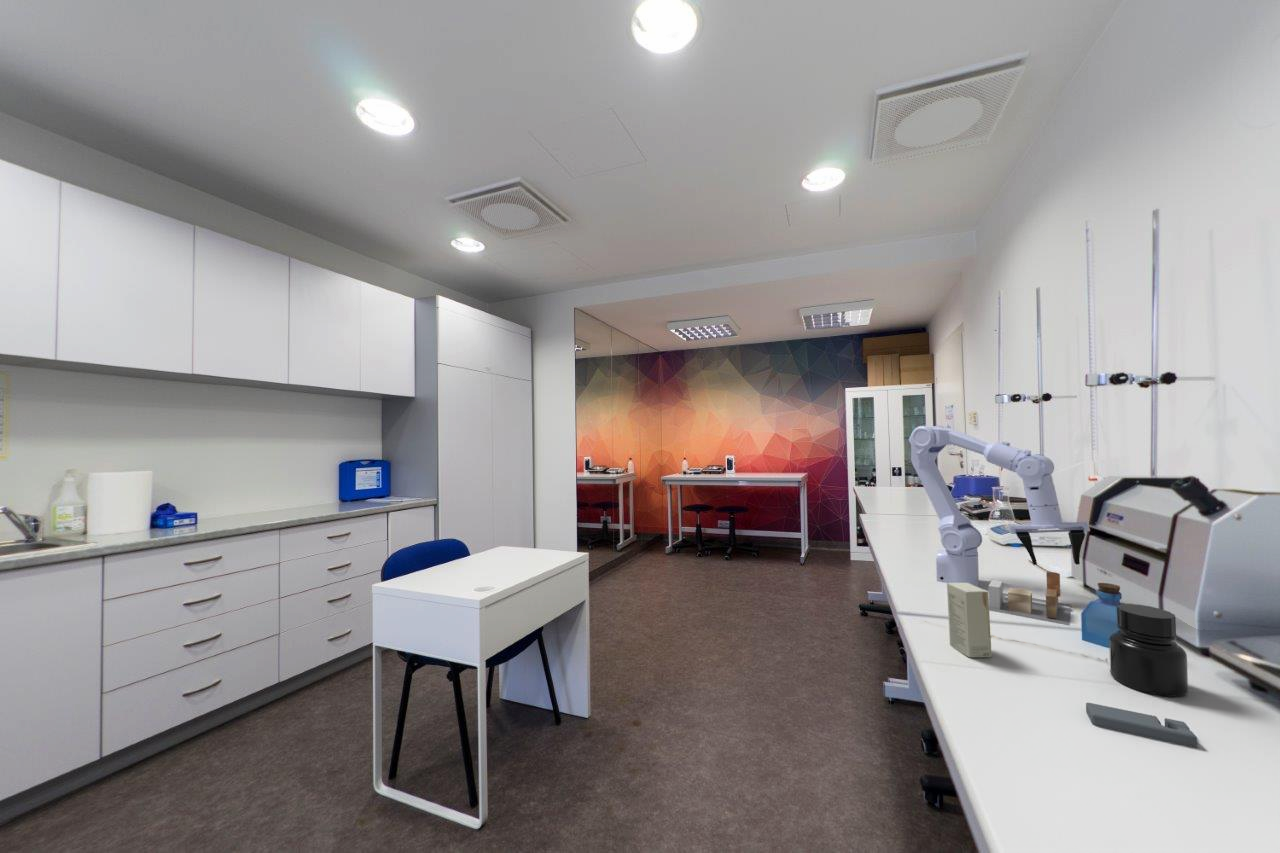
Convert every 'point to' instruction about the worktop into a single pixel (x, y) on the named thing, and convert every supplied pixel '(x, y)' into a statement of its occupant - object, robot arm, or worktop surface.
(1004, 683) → the worktop surface
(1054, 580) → the press jaw
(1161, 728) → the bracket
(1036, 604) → the press base
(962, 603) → the skincare box
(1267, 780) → the worktop surface
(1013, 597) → the birch cube
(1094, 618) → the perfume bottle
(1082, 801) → the worktop surface
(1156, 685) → the ink bottle
